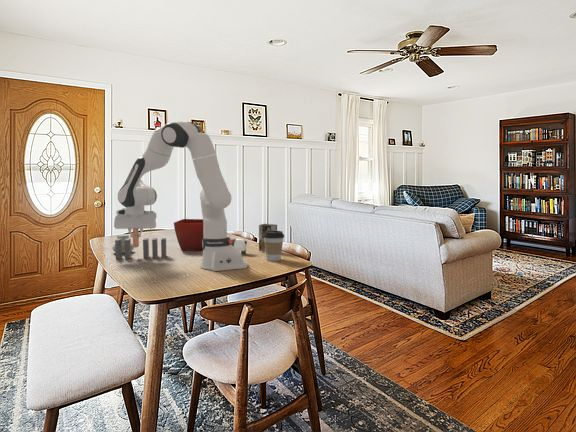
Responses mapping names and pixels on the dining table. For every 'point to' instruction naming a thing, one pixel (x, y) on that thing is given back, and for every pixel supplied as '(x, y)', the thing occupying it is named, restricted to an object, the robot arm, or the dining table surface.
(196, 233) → the plant pot
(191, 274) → the dining table surface
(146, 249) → the domino
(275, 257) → the coffee cup
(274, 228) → the coffee box
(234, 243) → the giant panda
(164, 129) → the robot arm
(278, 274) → the dining table surface
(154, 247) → the domino
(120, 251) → the domino
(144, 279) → the dining table surface
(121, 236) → the air freshener
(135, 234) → the domino
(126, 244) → the domino
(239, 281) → the dining table surface
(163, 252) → the domino
